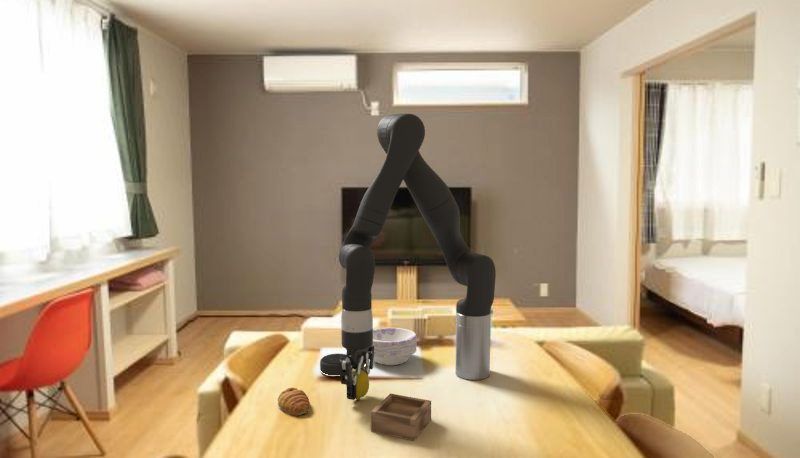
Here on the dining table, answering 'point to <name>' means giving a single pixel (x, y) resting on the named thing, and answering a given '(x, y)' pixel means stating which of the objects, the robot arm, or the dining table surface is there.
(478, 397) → the dining table surface
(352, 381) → the robot arm
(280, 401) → the pastry
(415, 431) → the open wooden tray
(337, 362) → the smart speaker
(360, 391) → the lemon
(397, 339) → the paper bowls
